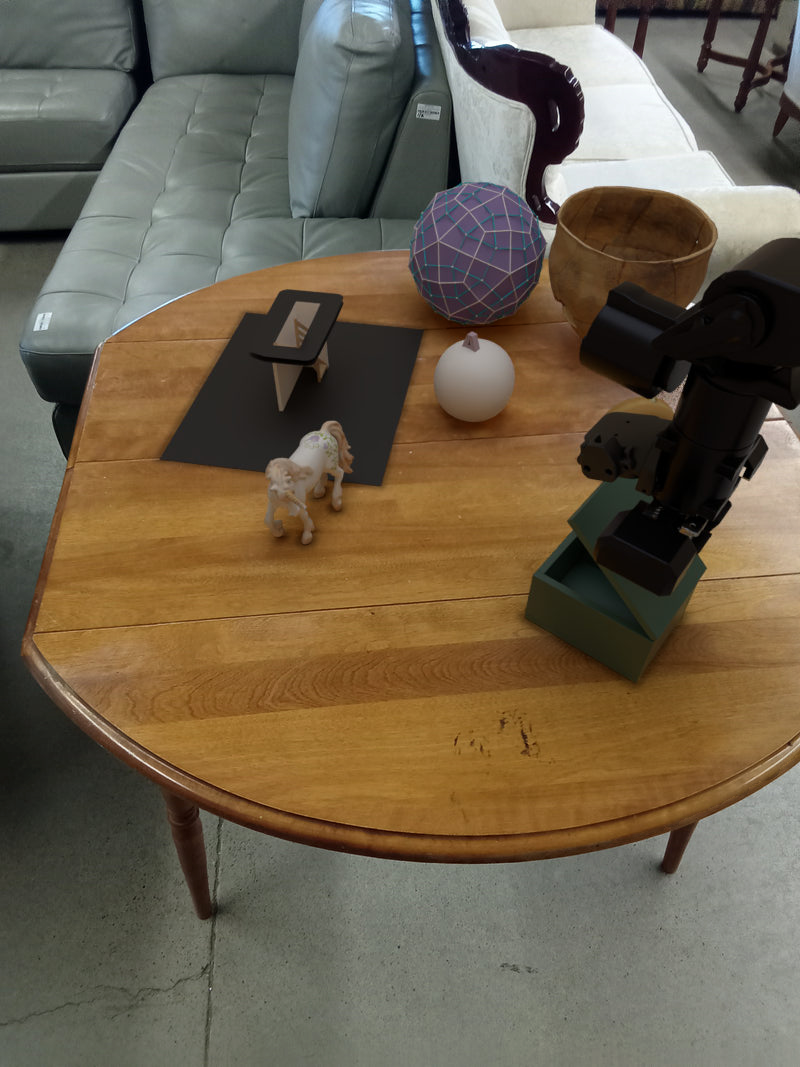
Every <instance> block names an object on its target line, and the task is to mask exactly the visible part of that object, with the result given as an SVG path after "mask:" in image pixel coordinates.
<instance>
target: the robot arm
mask: <svg viewBox="0 0 800 1067" xmlns="http://www.w3.org/2000/svg"><path fill="white" fill-rule="evenodd" d="M578 358H579V363H580V365H581V366H582V367H584V368H585V369H588V370H589V371H591V372H594V373H595V374H597V375H599V376H601V377H603V378H605V379H607V380H608V381H611V382H613V383H614V384H617V385H619V386H621V387H622V388H625V389H627V390H629V391H630V392H633V393H635V394H636V395H639V397H640V396H642V397H644V398H646V399H653V398H654V397H656V396H657V397H658V395H660V394H661V393H662V392H665V393H667V394H672V393H673V392H675V391H676V390H678V389H679V387H680V386H681V385H682V384H683V382H684V385H683V387H682V390H681V393H680V396H679V398H678V402H677V405H676V407H675V410H674V415H673V418H672V420H667V419H661V418H659V417H658V416H654V415H645V414H635V413H626V412H611V413H608V414H606V413H605V414H606V415H605V414H604V415H603V416H602V417H600V419H599V420H598V421H597V422H596V423H595V424H594V425H593V426H592V427H591V428H590V429H589V430H588V431H587V432H586V433H585V435H584V436H583V440H584V441H582V443H581V444H580V445H579V448H580V453H579V454H578V455H577V457H576V463H577V464H578V465H579V466H580V468H581V473H582V475H583V476H585V477H586V479H588V480H593V481H598V482H603V481H604V482H610V483H612V482H614V481H615V480H616V479H617V478H618V477H621V478H627V479H638V481H637V484H636V487H635V490H637V491H639V492H641V493H643V494H645V495H647V496H651V495H652V497H653V501H652V502H651V503H648V502H646V501H644V500H642V499H641V500H640V501H639V502H638V503H637V505H636V506H635V507H634V508H633V509H630V510H626V511H621V512H619V513H618V514H617V515H616V516H615V517H614V519H613V520H612V521H611V522H610V523H609V525H608V526H607V527H606V528H605V529H604V531H603V532H602V533H601V534H600V535H599V537H598V538H597V541H596V544H595V548H594V551H593V557H594V560H595V562H596V563H597V564H599V565H601V566H603V567H605V568H607V569H609V570H611V571H612V572H614V573H616V574H618V575H620V576H622V577H624V578H626V579H627V580H629V581H631V582H633V583H635V584H637V585H639V586H640V587H642V588H644V589H646V590H648V591H650V592H652V593H654V594H655V595H657V596H659V597H662V596H671V594H672V593H673V591H674V590H675V588H676V587H677V585H678V584H679V582H680V581H681V580H682V578H683V577H684V575H685V574H686V572H687V570H688V569H689V567H690V565H691V563H692V561H693V559H694V557H695V556H696V555H699V554H700V553H701V552H702V550H703V549H704V547H705V546H706V545H707V543H708V541H709V540H710V539H711V537H712V536H713V533H712V531H713V530H714V529H716V528H717V527H718V526H719V525H720V524H721V523H722V522H723V520H724V519H725V517H726V516H727V514H728V513H729V511H730V510H731V508H732V507H733V503H732V502H731V501H730V498H731V497H732V496H733V494H735V491H737V488H738V487H739V485H740V483H741V481H742V479H743V480H745V481H747V482H751V480H752V479H753V477H754V476H755V474H756V473H757V471H758V470H759V468H760V467H761V465H762V464H763V461H764V460H765V457H766V455H767V454H768V451H769V448H770V447H769V446H768V444H767V442H766V439H765V438H764V436H763V434H761V433H760V431H761V430H762V427H763V425H764V423H765V421H766V419H767V417H768V413H769V412H770V410H771V408H772V406H773V404H774V405H777V406H779V407H781V408H783V409H785V410H787V411H794V410H796V409H797V408H798V407H799V406H800V237H779V238H775V239H771V240H770V241H768V242H766V243H764V244H762V245H761V246H760V247H759V248H757V249H756V250H754V251H753V252H751V253H750V254H749V255H747V256H746V257H744V258H743V259H741V260H740V261H739V262H737V263H735V264H734V265H733V266H731V267H730V268H729V269H727V270H726V271H724V272H723V273H722V274H720V275H719V276H718V277H716V278H714V279H713V280H712V281H711V282H710V283H709V285H708V286H707V288H706V289H705V290H704V292H703V294H702V298H701V299H700V300H699V301H697V302H696V303H695V304H693V305H692V306H690V307H689V308H688V309H687V308H686V309H685V308H683V307H681V306H678V305H676V304H674V303H671V302H669V301H667V300H664V299H662V298H660V297H657V296H655V295H653V294H651V293H649V292H647V291H646V290H645V289H643V288H642V287H640V286H639V285H636V284H634V283H632V282H630V281H627V280H626V281H624V282H623V283H621V284H619V285H618V286H616V287H615V288H613V289H612V290H610V291H609V293H608V297H607V302H606V304H605V305H604V307H603V308H602V309H601V310H600V312H599V313H598V314H597V316H596V318H595V319H594V321H593V322H592V324H591V326H590V328H589V330H588V333H587V335H586V336H585V337H584V338H583V339H582V341H581V342H580V345H579V352H578ZM743 468H745V469H744V471H743V474H742V476H741V473H742V470H743Z"/></svg>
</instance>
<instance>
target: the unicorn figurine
mask: <svg viewBox="0 0 800 1067" xmlns="http://www.w3.org/2000/svg"><path fill="white" fill-rule="evenodd" d="M350 448H351V447H350V446H349V445H348V442H347V440H346V438H345V435H344V433H343V431H342V427H341V425H340V424H339V423H338V422H336V421H327V422H325V423H324V424H323V425H322V428H321V430H320V431H313V432H310V433H308V434H307V435H305V436H304V437H303V438H302V439H301V441H300V445H299V447H298V448H297V450H296V451H295V452H294V453H293V454H292V456H291V457H290V458H289V459H287V458H277V459H274V460H271V461H270V463H269V464H268V466H267V468H266V472H264V473H265V475H264V476H265V480H266V481H269V482H268V487H267V499H268V502H267V508H266V512H265V515H264V521H263V522H264V524H265V525H266V526H265V527H267V528H268V529H269V532H270V534H271V535H272V536H274V537H276V538H280V537H283V536H285V535H286V532H287V530H286V529H285V527H284V522H283V521H282V519H275V514H276V512H277V510H278V509H279V508H280V509H283V510H286V509H287V511H288V516H289V517H297V516H299V518H300V519H301V521H302V522H303V529H304V531H303V533H302V536H301V538H300V541H301V543H302V544H303V545H308V544H310V543H312V541H313V533H312V532H313V531H314V530H315V529H316V528H315V526H314V521H313V519H312V518H311V517H309V512H308V511H307V505H305V504H306V501H307V495H308V493H310V492H311V491H312V490H313V493H312V496H313V497H314V498H315V499H319V498H322V497H324V495H325V494H326V488H325V487H326V486H327V483H328V480H327V479H328V477H327V473H330V474H331V475H333V476H335V481H334V482H333V490H332V492H331V498H332V502H331V505H332V508H333V509H334V511H338V512H339V511H341V510H342V509H343V501H342V498H343V487H342V485H341V484H342V482H343V481H342V478H343V474H344V472H346V473H352V472H353V470H352V469H351V468H350V464H351V463H352V462H353V461H352V459H354V457H353V456H352V455H351V454H350V453H349V452H348V451H347V450H349V449H350Z"/></svg>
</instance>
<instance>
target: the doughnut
mask: <svg viewBox="0 0 800 1067" xmlns="http://www.w3.org/2000/svg"><path fill="white" fill-rule="evenodd" d="M611 412H626V413H635V414H645V415H654V416H658V417H659V418H661V419H667V420H672V418H673V415H674V413H675V411H674V410H673V408H672V407H671V406H670V404H668V403H667V402H666V401H665V400H663V399H661V398H659V397H658V395H657V396H656V397H654V398H653V399H646V398H644V397H642V396H640V395H639V396H634V397H630V398H627V399H625V400H622V401H621V402H619V403H617V404H615V405H613V406H612V407H611V408H610V409H608V411H607V412H606V413H605V414H604V415H606V414H608V413H611Z"/></svg>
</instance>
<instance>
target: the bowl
mask: <svg viewBox="0 0 800 1067" xmlns="http://www.w3.org/2000/svg"><path fill="white" fill-rule="evenodd" d="M718 239H719V232H718V228H717V226H716V223H715V222H714V221H713V220H712V219H711V218H710V217H709V215H708V214H707V213H706V212H705V211H704V210H703V209H702V208H701V207H699V206H698V205H697V204H696V203H694V202H693V201H691V200H690V199H688V198H686V197H683V196H681V195H679V194H676V193H673V192H670V191H666V190H662V189H656V188H655V189H654V188H644V187H635V186H628V185H626V186H625V185H598V186H592V187H587V188H584V189H582V190H579V191H577V192H574V193H573V194H571V195H570V196H568V198H566V199H565V200H564V202H562V204H561V206H559V209H558V212H557V215H556V228H555V233H554V237H553V240H552V242H551V244H550V247H549V248H550V249H549V253H548V264H547V265H548V266H547V267H548V277H549V283H550V288H551V292H552V295H553V298H554V300H555V301H556V302H558V303H560V304H561V306H562V307H561V310H562V314H563V317H564V318H565V320H566V322H567V323H568V324H569V326H570V327H571V329H572V331H574V333H575V335H576V337H578V339H579V340H580V341H581V342H582V339H583V338H584V337H585V336H586V335H587V333H588V330H589V328H590V326H591V324H592V322H593V321H594V319H595V318H596V316H597V314H598V313H599V312H600V310H601V309H602V308H603V307H604V305H605V304H606V302H607V297H608V293H609V291H610V290H612V289H613V288H615V287H616V286H618V285H619V284H621V283H623V282H624V281H626V280H627V281H630V282H632V283H634V284H636V285H639V286H640V287H642V288H643V289H645V290H646V291H647V292H649V293H651V294H653V295H655V296H657V297H660V298H662V299H664V300H667V301H669V302H671V303H674V304H676V305H678V306H681V307H683V308H685V309H687V308H688V307H689V306H690V304H691V303H692V302H693V301H694V300H695V298H696V297H697V295H698V294H699V292H700V290H701V288H702V286H703V285H704V282H705V280H706V277H707V273H708V269H709V268H708V267H709V263H710V259H711V257H712V253H713V250H714V248H715V246H716V243H717V241H718Z"/></svg>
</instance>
